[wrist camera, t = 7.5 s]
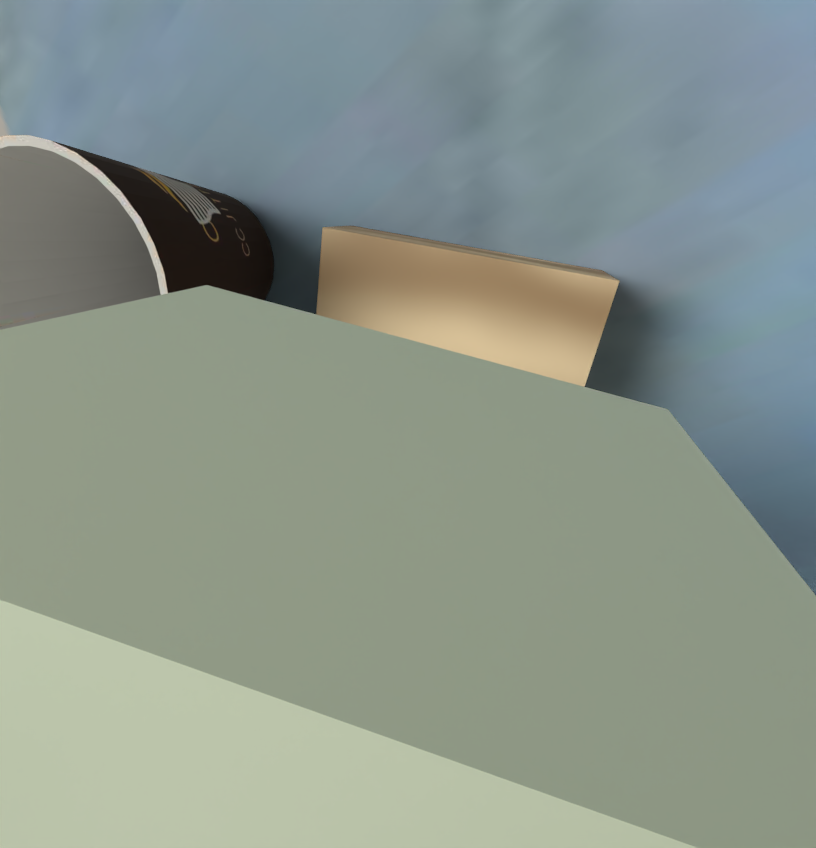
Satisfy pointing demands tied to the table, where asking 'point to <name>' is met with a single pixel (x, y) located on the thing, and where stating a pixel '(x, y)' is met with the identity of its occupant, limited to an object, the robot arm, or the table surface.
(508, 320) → the oak block
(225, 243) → the coffee mug
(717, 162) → the table surface
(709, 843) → the sage brick
